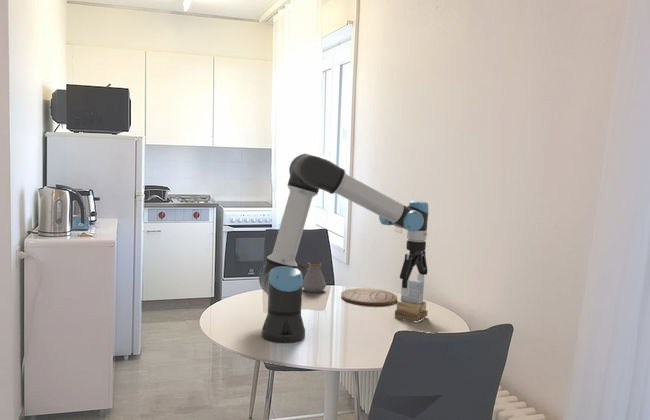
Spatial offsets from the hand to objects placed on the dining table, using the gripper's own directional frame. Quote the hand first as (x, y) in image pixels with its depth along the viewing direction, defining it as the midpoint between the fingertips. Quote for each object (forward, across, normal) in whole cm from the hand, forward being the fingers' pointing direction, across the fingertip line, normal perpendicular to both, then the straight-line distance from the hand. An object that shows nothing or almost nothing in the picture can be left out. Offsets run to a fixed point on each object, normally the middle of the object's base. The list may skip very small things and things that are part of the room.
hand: (412, 293), depth 227 cm
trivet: (+11, +14, +28) cm, 33 cm away
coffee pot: (+11, +3, +54) cm, 55 cm away
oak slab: (+7, 0, 0) cm, 7 cm away
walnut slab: (+11, 0, 0) cm, 11 cm away
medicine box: (+4, 0, 0) cm, 4 cm away
